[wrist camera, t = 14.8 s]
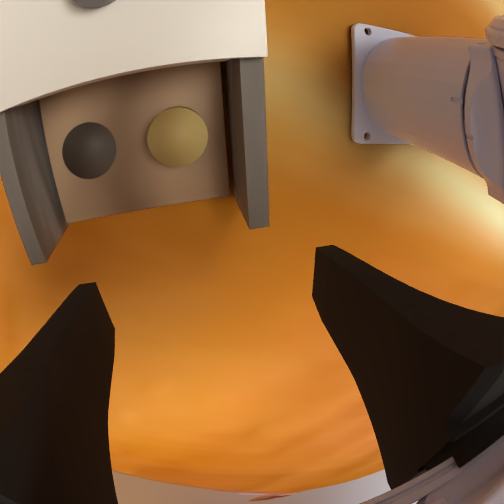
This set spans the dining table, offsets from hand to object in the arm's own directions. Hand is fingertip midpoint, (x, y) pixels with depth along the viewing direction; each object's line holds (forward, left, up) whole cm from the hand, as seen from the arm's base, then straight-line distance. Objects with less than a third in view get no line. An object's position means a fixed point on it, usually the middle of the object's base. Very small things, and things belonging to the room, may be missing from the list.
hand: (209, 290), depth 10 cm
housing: (+3, -6, -10) cm, 12 cm away
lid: (+3, -11, -7) cm, 14 cm away
